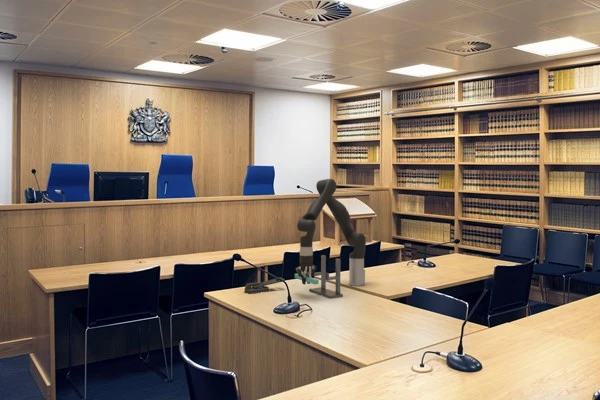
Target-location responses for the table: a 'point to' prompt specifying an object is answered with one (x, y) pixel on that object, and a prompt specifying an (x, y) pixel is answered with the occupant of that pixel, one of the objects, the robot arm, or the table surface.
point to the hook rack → (325, 276)
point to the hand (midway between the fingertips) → (306, 283)
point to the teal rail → (308, 279)
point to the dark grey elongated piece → (260, 286)
